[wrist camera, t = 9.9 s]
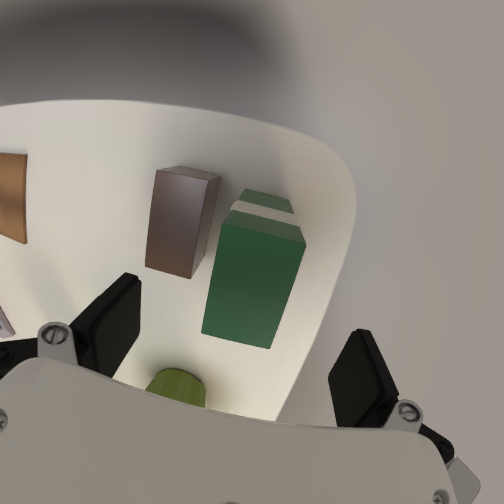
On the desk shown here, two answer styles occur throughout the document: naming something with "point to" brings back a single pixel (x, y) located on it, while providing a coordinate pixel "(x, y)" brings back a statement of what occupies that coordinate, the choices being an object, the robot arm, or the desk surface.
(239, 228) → the block
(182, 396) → the plant pot
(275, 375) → the desk surface
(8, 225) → the coaster
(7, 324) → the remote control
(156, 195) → the block
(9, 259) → the desk surface
